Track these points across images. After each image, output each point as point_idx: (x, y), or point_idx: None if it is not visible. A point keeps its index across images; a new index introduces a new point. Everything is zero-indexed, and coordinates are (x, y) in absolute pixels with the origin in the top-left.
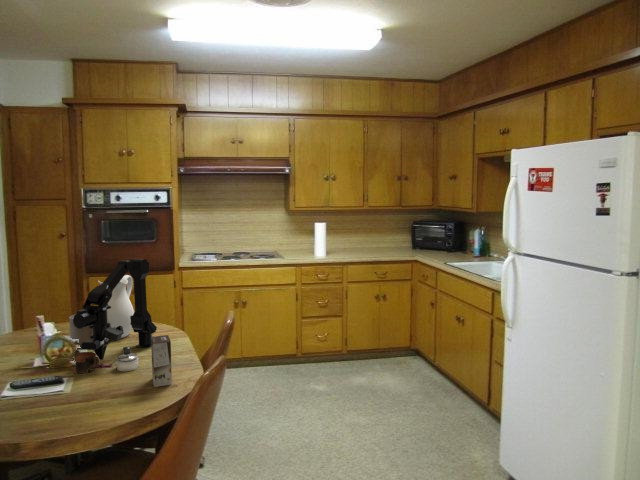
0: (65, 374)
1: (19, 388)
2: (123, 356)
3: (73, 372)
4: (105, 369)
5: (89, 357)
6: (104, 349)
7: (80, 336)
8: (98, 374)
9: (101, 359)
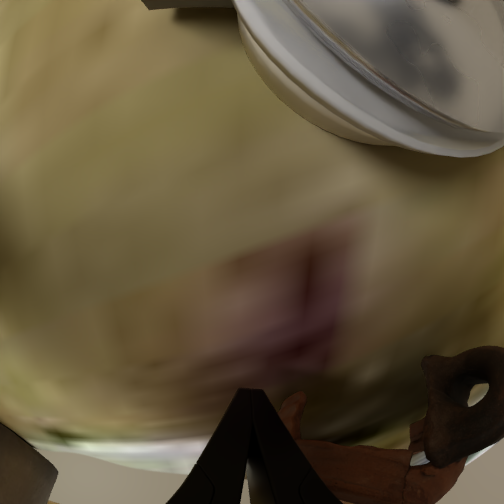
0: (406, 443)
1: (467, 457)
2: (458, 20)
3: (420, 428)
4: (405, 266)
5: (460, 460)
6: (237, 498)
7: (28, 496)
8: (489, 276)
9: (264, 398)
